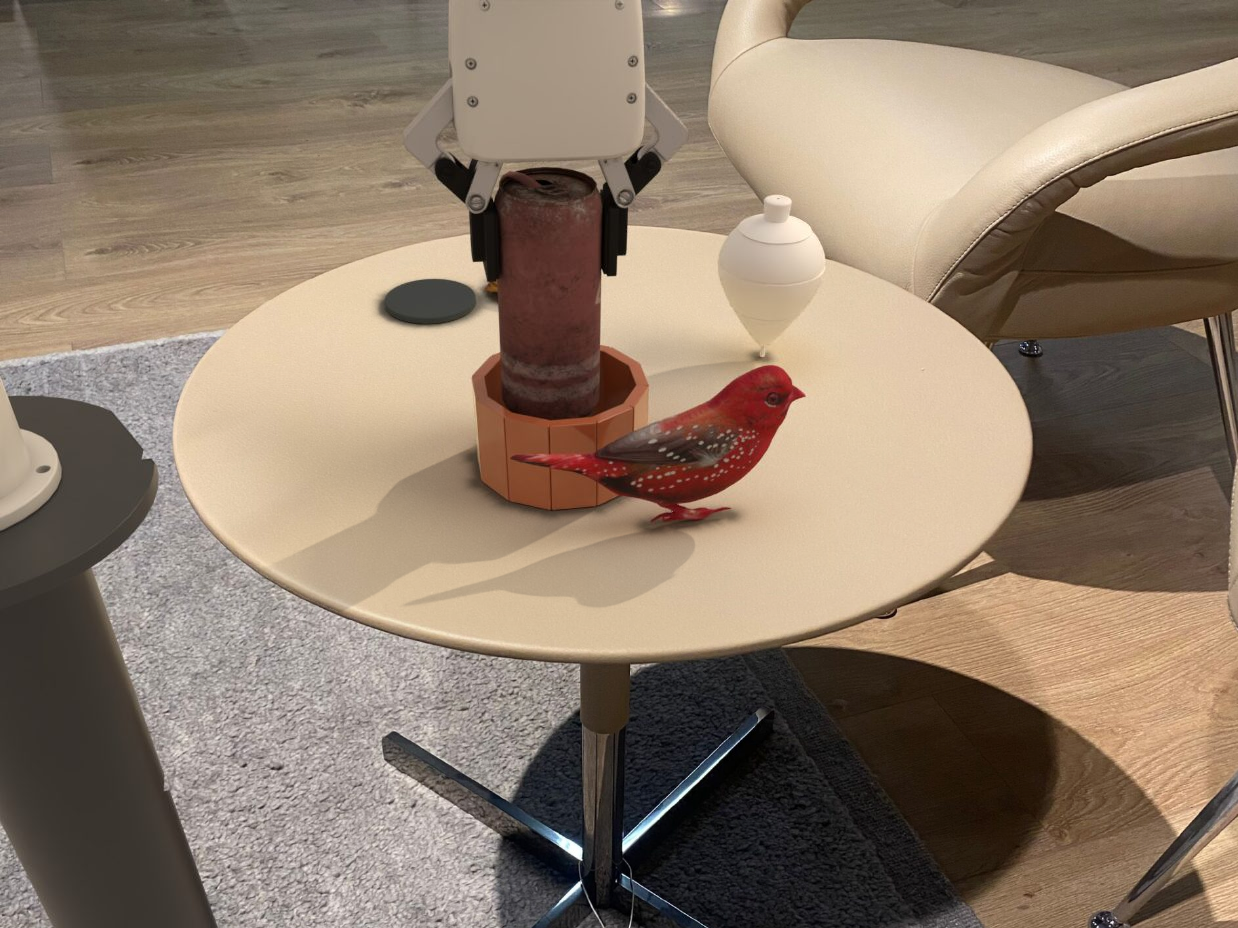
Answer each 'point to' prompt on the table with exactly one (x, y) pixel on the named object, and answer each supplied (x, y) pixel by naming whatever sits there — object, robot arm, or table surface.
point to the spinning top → (771, 270)
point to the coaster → (430, 301)
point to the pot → (555, 435)
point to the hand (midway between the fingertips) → (548, 266)
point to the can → (549, 291)
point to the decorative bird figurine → (690, 446)
